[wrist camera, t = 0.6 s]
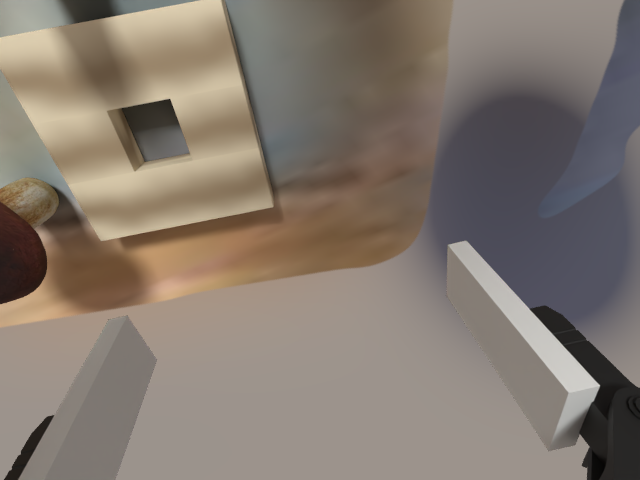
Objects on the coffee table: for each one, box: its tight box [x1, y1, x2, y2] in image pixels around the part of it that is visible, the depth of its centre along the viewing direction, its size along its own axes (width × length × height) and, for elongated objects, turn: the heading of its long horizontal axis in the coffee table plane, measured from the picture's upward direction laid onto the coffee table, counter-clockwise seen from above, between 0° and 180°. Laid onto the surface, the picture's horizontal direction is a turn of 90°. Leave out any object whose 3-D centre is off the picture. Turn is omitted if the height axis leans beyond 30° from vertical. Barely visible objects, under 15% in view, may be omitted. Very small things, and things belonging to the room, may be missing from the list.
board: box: [0, 0, 274, 241], centre depth 32 cm, size 18×18×3 cm
